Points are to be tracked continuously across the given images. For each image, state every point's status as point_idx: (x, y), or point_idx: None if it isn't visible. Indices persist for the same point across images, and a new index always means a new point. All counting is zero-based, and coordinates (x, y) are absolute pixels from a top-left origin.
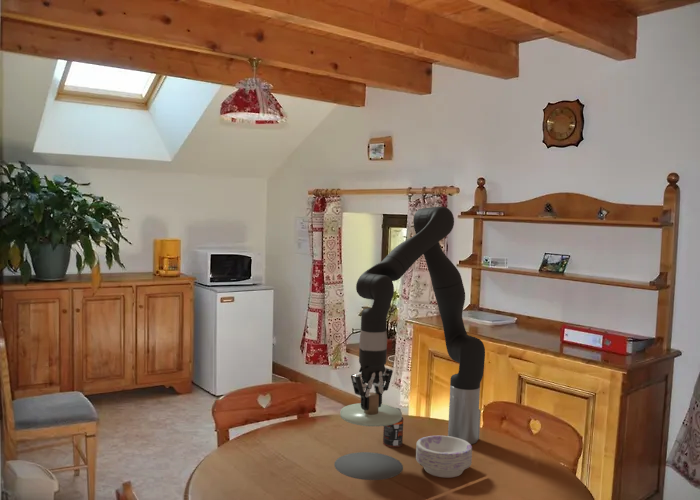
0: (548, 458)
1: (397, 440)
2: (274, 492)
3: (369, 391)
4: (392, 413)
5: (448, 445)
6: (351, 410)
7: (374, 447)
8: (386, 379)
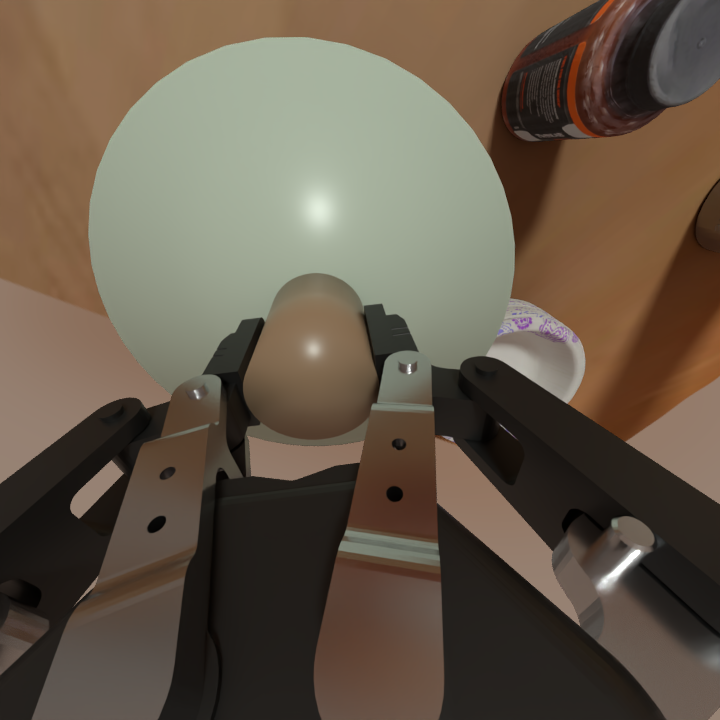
0: (692, 390)
1: (538, 140)
2: None
3: (249, 470)
4: None
5: (548, 351)
6: (200, 218)
7: (467, 56)
8: (528, 509)
